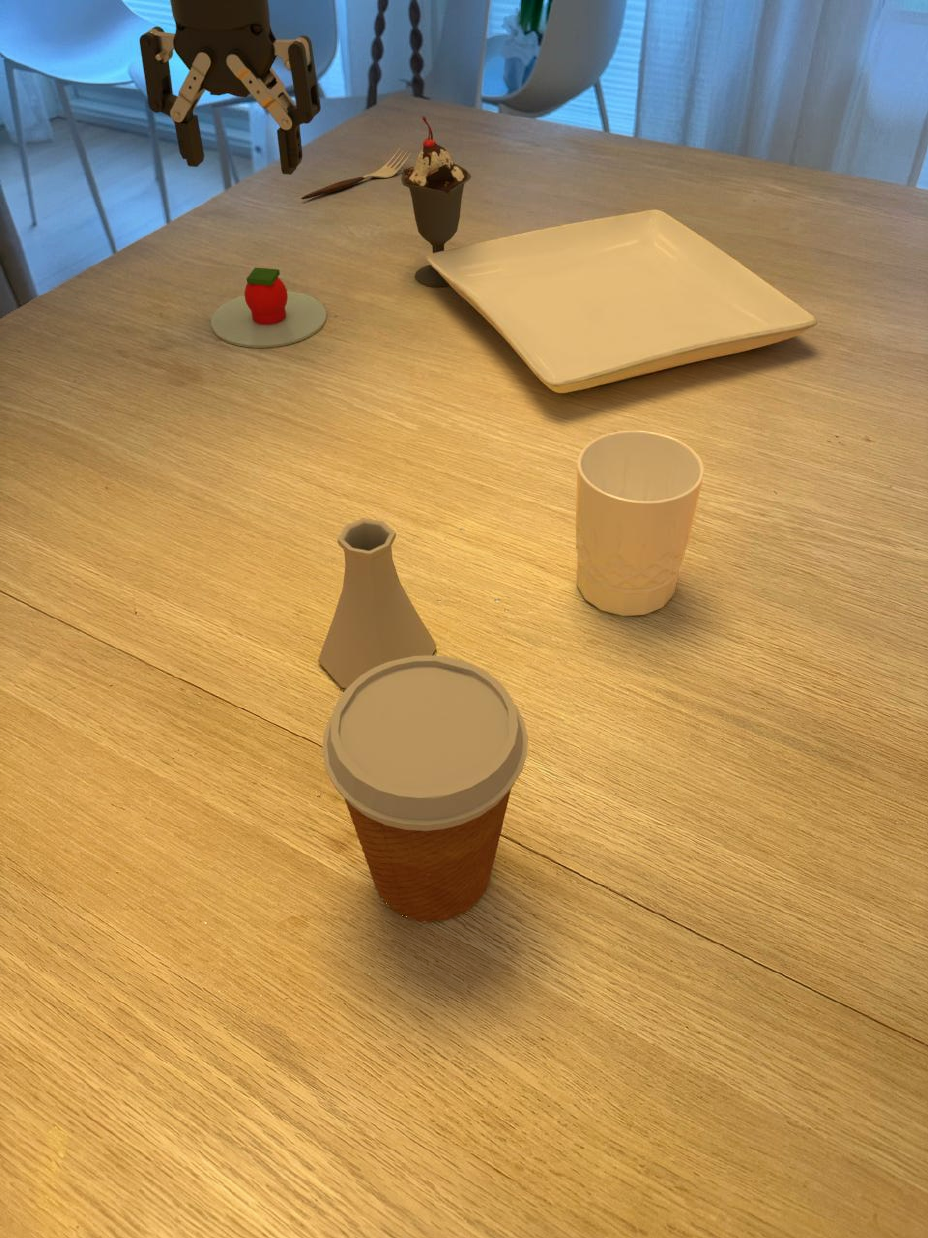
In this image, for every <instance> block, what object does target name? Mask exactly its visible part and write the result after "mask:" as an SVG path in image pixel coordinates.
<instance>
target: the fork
mask: <svg viewBox="0 0 928 1238" xmlns="http://www.w3.org/2000/svg"><path fill="white" fill-rule="evenodd" d="M400 151H401V152H400ZM404 152H405V153H404ZM398 153H399V155H398ZM403 153H404V155H403ZM408 153H409V151H408V150H407V151H405V149H402V150H401V148H400V147H399V148H398V149H397V150H396V152H395V154H394V155H393V156H392V157H391V158H390V159H389V160H388V161H387V162H386V163H385V164H384V165H383V166H381V168H379V169H377V170H376V171H374V172H372V173H370V174H369V173H368V174H366V175H361V176H358V177H353V178H348V179H345V180H340V181H338V182H335V183H332V184H330V185H328V186H325V187H323V188H320V189H317V190H314V191H312V192H310V193H308V194H306V195H303V196H302V197H300V200H307V199H312V198H315V197H319V196H321V195H327V194H329V193H334V192H337V191H341V190H343V189H344V190H345V189H346V188H348V187H351V186H353V185H355V184H357V183H359V182H362V181H364V180H367V179H370V178H379V179H389V178H392V177H394V176H395V175H396V174H398V172H399V171H400V170H401V169H402V168H403V167H404V165H405V164H406V163H407V161H408V160H409V158H411V156H412V154H413V153H412V152H410V153H409V154H408ZM402 155H403V156H402ZM407 155H408V156H407ZM401 156H402V157H401ZM395 157H396V158H395ZM400 157H401V158H400ZM405 157H406V158H405ZM398 160H399V161H398ZM403 160H404V161H403Z"/></svg>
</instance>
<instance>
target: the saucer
mask: <svg viewBox="0 0 928 1238" xmlns="http://www.w3.org/2000/svg"><path fill="white" fill-rule="evenodd" d="M287 295H288V299H287V304H286V306H285V311H286V317H285V319H284V320H283V321H281V322H279V323H276V324H271V325H263V324H258V323H256V322H255V321H254V320H253V318H252V312H251V310H250V308H249V307H248V305H247V303H246V300H245V294H244V295H240V296H237V297H235V298H232V299H230V300H229V301H226V302H224V303H223V304H221V305H220V306H219V307H218V308H217V309H216V310H215V311H214V312H213V314H212V316H211V318H210V325H211V330H212V332H213V334H214V335H216V337H218V338H219V339H221V340H222V341H224V342H226V343H228V344H230V345H234V346H238V347H244V348H251V349H268V348H269V349H270V348H278V347H285V346H289V345H292V344H296V343H298V342H302V341H305V340H306V339H308V338H310V337H312V336H314V335H315V334H317V333H318V332H319V331H320V330H321V329H322V328H323V327H324V326H325V324H326V321H327V318H328V316H327V315H328V314H327V310H326V309H327V308H326V307H325V306H324V304H323V302H321V301H320V300H319V299H317V298H315V297H313V296H311V295H309V294H305V293H302V292H297V291H292V290H287Z"/></svg>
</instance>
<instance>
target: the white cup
mask: <svg viewBox="0 0 928 1238" xmlns="http://www.w3.org/2000/svg"><path fill="white" fill-rule="evenodd" d="M704 476H705V467H704V463H703V460H702V458H701V457H700V455H699V454H698V453H697V452H696V451H695V450H694V449H693V448H692V447H690V446H689V445H688V444H686V443H685V442H683V441H681V440H680V439H677V438H675V437H673V436H670V435H667V434H664V433H660V432H656V431H649V430H642V429H641V430H640V429H639V430H638V429H636V430H635V429H629V430H628V429H627V430H619V431H613V432H608V433H606V434H603V435H600V436H598V437H595V438H594V439H592V440H590V441H589V442H588V443H587V444H585V446H583V448H582V449H581V450H580V452H579V454H578V456H577V461H576V499H575V501H576V503H575V550H576V555H577V557H576V585H577V588H578V589H579V591H580V593H581V596H582V598H583V599H584V600H585V601H587V602H588V603H590V604H591V605H592V606H594V607H595V608H597V609H598V610H600V611H603V612H606V613H610V614H614V615H616V616H617V615H618V616H622V617H628V616H631V617H633V616H645V615H648V614H650V613H653V612H656V611H658V610H660V609H663V608H664V607H665V606H666V604H667V603H668V602H670V599H672V598H673V596H674V595H675V591H676V586H677V582H678V577H679V573H680V568H681V566H682V563H683V562H684V559H685V555H686V550H687V547H688V544H689V539H690V536H691V532H692V528H693V524H694V520H695V516H696V511H697V507H698V501H699V497H700V493H701V489H702V485H703V480H704Z"/></svg>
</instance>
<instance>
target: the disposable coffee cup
mask: <svg viewBox="0 0 928 1238" xmlns="http://www.w3.org/2000/svg"><path fill="white" fill-rule="evenodd" d="M528 743H529V737H528V731H527V727H526V723H525V719H524V718H523V716H522V714H521V712H520V709H519V708H518V706H517V705H516V704H515V703H514V701H513V697H511V695H510V693H509V692H508V690H507V689H506V687H505V686H504V685H503V684H502V683H501V682H500V681H499V680H498V679H497V678H495V677H494V676H493V675H492V674H490V673H489V672H487V671H486V670H485V669H483V668H481V667H479V666H477V665H475V664H473V663H471V662H469V661H465V660H463V659H458V658H454V657H449V656H444V655H434V654H432V655H427V656H412V657H407V658H403V659H398V660H394V661H390V662H386V663H384V664H381V665H379V666H377V667H375V668H373V669H371V670H369V671H368V672H366V673H364V674H363V675H361V676H360V677H358V678H357V679H356V680H355V681H354V682H353V683H352V684H351V685H350V686H349V687H348V688H345V689H344V691H343V693H342V694H341V696H340V697H339V698H338V700H337V702H336V704H335V706H334V708H333V711H332V714H331V715H330V717H329V718H328V722H327V723H326V726H325V729H324V732H323V738H322V744H321V752H322V758H323V763H324V769H325V771H326V773H327V775H328V777H329V780H330V783H331V784H332V785H333V787H334V788H335V790H337V792H338V794H339V795H340V796H341V797H343V798H344V802H345V804H346V808H347V810H348V812H349V816H350V818H351V822H352V825H353V826H354V830H355V833H356V836H357V838H358V842H359V844H360V846H361V850H362V852H363V854H364V858H365V860H366V864H367V866H368V870H369V872H370V875H371V878H372V880H373V883H374V887H375V889H377V890H376V892H377V891H378V892H377V894H378V893H379V894H378V896H379V897H380V898H382V899H383V900H382V899H381V900H382V902H383V903H384V902H385V903H387V905H388V906H389V907H388V906H387V905H386V906H387V907H388V908H389V909H391V910H392V909H393V910H394V911H393V910H392V911H393V912H395V913H396V914H398V913H399V914H398V915H400V914H401V915H403V916H405V917H404V918H406V919H409V918H410V919H409V920H413V921H416V920H417V922H422V921H426V922H425V923H436V922H435V921H439V922H444V921H443V920H445V921H447V920H451V919H454V917H455V918H457V917H459V916H461V914H462V915H463V914H465V913H467V912H468V911H470V910H471V909H473V908H474V907H475V906H476V905H477V903H479V902H480V900H481V899H482V898H483V897H484V895H485V893H486V892H487V890H488V887H489V885H490V881H491V876H492V871H493V867H494V863H495V858H496V855H497V850H498V846H499V842H500V836H501V833H502V830H503V829H502V828H503V825H504V820H505V816H506V812H507V809H508V803H509V800H510V795H511V791H512V788H513V786H514V785H515V783H516V782H517V780H518V779H519V777H520V775H521V774H522V772H523V769H524V766H525V763H526V759H527V756H528V746H529V744H528ZM385 903H384V904H385ZM401 915H400V916H401ZM403 916H402V917H403ZM406 916H407V917H406Z"/></svg>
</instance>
